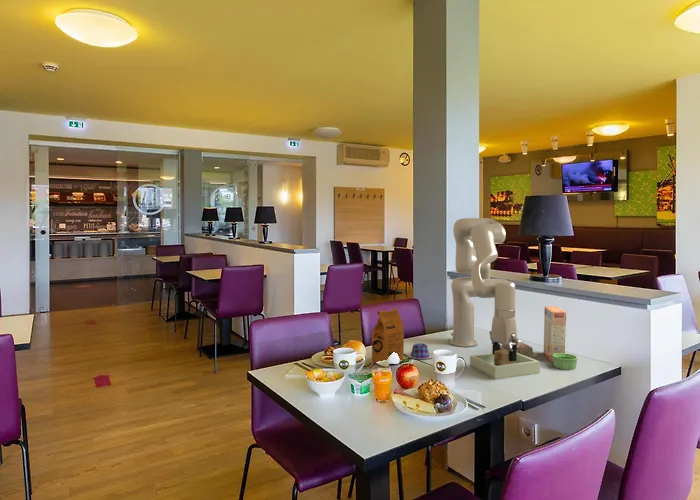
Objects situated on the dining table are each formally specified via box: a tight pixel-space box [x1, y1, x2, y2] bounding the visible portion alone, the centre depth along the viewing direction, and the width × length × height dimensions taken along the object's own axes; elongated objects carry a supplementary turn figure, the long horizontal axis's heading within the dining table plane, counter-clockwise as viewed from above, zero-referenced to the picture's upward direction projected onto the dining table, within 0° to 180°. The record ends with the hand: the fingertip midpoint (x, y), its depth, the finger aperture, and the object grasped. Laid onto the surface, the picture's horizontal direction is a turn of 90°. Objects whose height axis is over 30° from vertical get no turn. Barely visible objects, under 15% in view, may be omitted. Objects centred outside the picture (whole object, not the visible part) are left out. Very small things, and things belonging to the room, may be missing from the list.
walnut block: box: [494, 349, 513, 366], centre depth 182 cm, size 5×5×6 cm
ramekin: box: [552, 352, 578, 371], centre depth 186 cm, size 9×9×4 cm
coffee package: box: [371, 307, 405, 364], centre depth 193 cm, size 10×12×22 cm
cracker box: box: [543, 305, 567, 363], centre depth 198 cm, size 14×6×21 cm, turn 168°
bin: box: [469, 352, 541, 380], centre depth 182 cm, size 16×20×4 cm
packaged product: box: [500, 341, 538, 358], centre depth 208 cm, size 18×5×10 cm
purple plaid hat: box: [405, 342, 433, 360], centre depth 203 cm, size 12×12×5 cm
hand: (504, 357), depth 182 cm, fingers open, 9 cm apart
